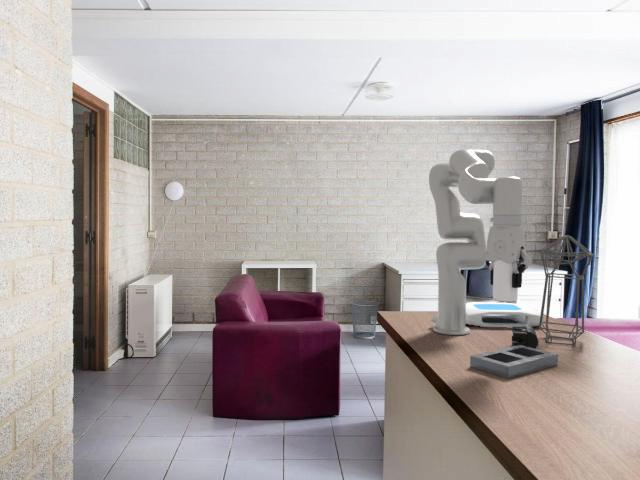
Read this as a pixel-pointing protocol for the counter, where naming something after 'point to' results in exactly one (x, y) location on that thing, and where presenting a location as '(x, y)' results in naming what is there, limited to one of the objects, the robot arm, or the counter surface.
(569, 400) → the counter surface
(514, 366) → the grey windowed frame
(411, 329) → the counter surface
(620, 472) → the counter surface
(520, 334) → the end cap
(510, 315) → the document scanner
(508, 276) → the can
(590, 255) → the geometric lantern
